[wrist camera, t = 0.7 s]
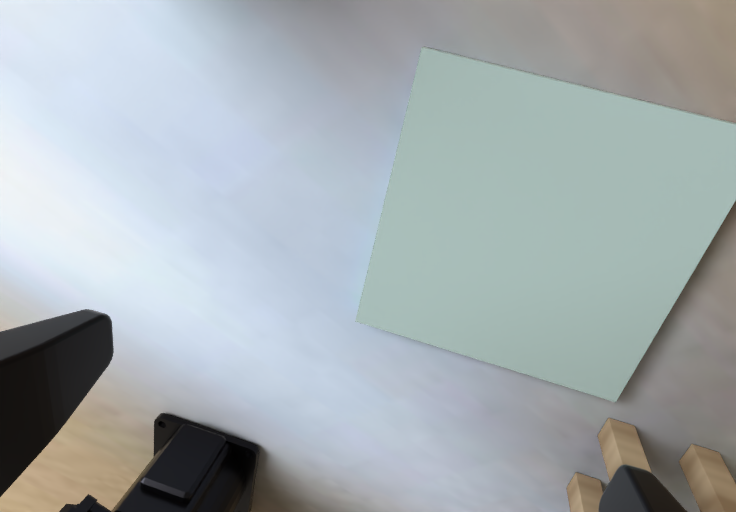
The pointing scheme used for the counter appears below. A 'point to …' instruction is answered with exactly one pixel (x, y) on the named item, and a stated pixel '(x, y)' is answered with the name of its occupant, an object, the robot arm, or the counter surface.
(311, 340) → the counter surface
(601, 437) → the stool
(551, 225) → the board
